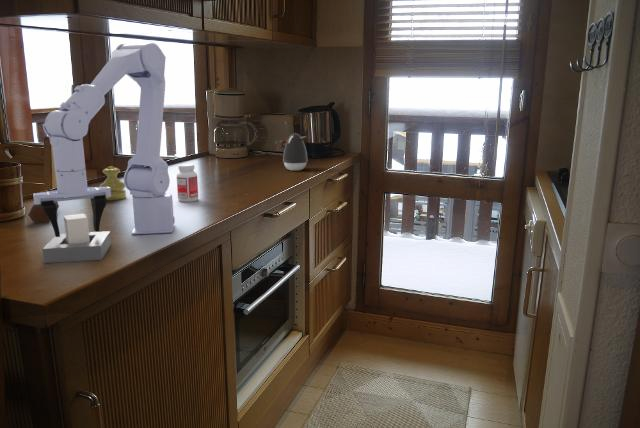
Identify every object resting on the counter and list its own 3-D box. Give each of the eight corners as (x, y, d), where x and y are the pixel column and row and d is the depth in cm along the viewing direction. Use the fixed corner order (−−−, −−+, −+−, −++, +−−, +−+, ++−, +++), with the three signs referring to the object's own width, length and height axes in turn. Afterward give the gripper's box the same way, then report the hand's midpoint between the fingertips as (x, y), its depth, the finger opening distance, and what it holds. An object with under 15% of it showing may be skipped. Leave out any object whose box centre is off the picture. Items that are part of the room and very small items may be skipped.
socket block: (111, 244, 119) (110, 231, 119) (101, 259, 109) (100, 245, 108) (58, 246, 117) (57, 233, 116) (44, 263, 107) (42, 248, 106)
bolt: (56, 216, 151) (45, 228, 137) (38, 208, 149) (25, 220, 135) (65, 198, 151) (55, 208, 136) (48, 190, 149) (35, 200, 135)
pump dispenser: (300, 172, 215) (300, 135, 211) (278, 170, 219) (278, 133, 215) (312, 169, 224) (312, 132, 220) (290, 167, 228) (290, 131, 224)
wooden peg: (87, 248, 116) (83, 213, 114) (91, 253, 113) (87, 217, 111) (67, 251, 114) (63, 215, 112) (70, 256, 111) (66, 219, 109)
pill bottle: (198, 197, 167) (196, 163, 165) (198, 201, 162) (197, 166, 159) (177, 198, 166) (175, 163, 163) (177, 202, 160) (175, 166, 157)
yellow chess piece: (97, 198, 166) (93, 166, 163) (119, 194, 171) (117, 164, 168) (107, 202, 161) (104, 169, 158) (130, 198, 166) (128, 166, 163)
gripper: (103, 164, 116) (109, 224, 119) (28, 169, 108) (37, 233, 111) (110, 168, 110) (116, 231, 113) (32, 174, 102) (40, 242, 106)
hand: (77, 233), depth 112 cm, fingers open, 7 cm apart
